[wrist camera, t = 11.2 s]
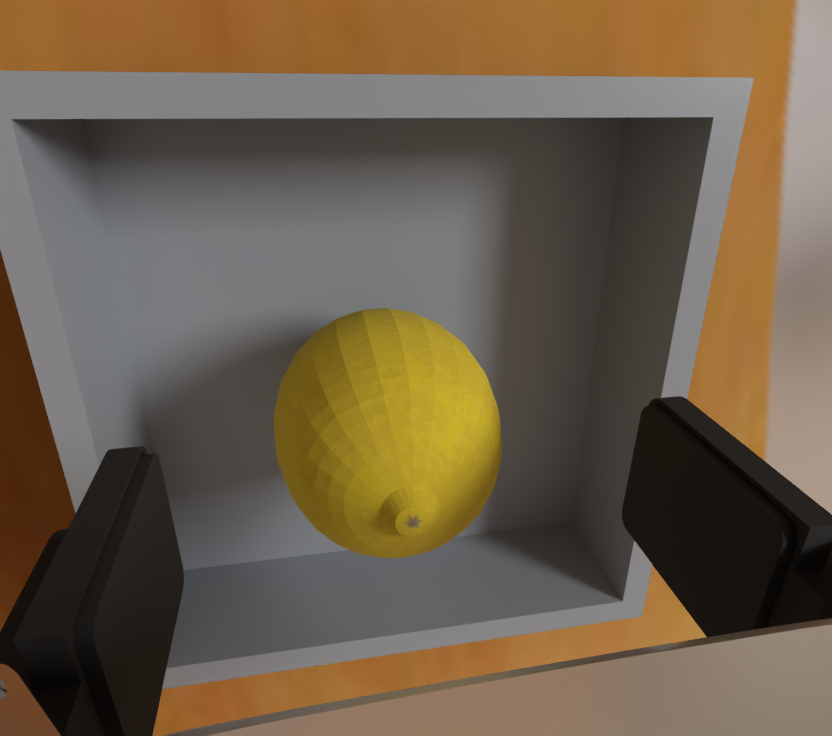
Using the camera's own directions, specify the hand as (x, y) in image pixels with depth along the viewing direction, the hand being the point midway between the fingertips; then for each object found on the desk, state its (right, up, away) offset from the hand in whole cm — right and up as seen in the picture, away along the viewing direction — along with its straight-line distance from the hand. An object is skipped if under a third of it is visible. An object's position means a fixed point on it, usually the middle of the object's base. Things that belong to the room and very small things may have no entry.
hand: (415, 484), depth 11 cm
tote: (-1, +3, +8) cm, 9 cm away
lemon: (-1, +3, +7) cm, 8 cm away
